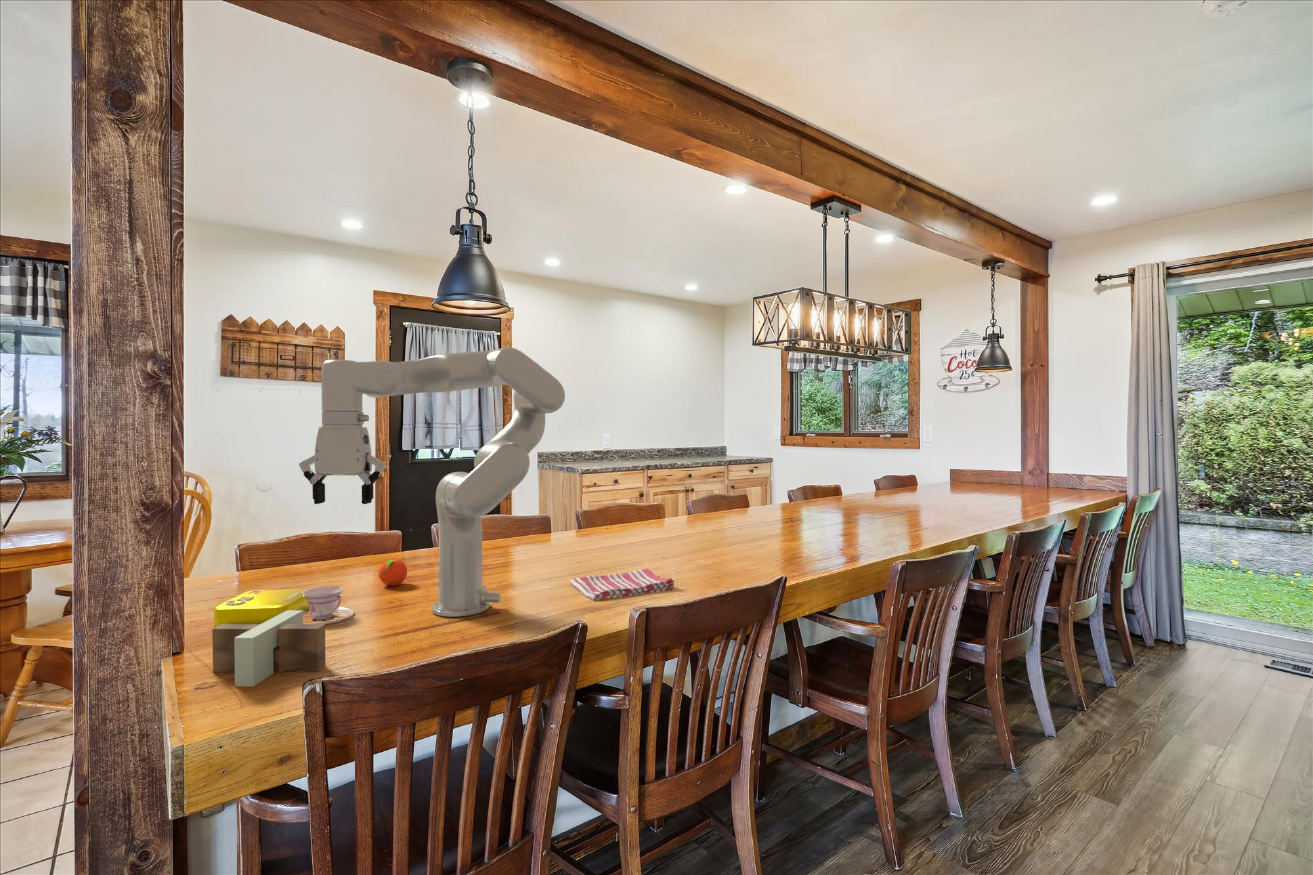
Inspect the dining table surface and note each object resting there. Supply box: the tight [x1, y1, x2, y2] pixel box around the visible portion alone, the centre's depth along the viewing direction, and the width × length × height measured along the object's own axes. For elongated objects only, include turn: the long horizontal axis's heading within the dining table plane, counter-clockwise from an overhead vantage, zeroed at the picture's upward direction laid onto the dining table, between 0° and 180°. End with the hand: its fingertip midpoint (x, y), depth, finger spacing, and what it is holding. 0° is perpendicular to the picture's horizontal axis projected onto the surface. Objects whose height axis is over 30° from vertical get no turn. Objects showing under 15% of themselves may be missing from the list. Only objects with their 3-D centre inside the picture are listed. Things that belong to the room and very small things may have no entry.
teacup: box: [302, 585, 355, 625], centre depth 139 cm, size 12×12×6 cm
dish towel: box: [569, 568, 675, 602], centre depth 165 cm, size 17×23×4 cm
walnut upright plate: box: [211, 624, 326, 673], centre depth 110 cm, size 18×2×8 cm, turn 91°
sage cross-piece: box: [234, 610, 303, 688], centre depth 110 cm, size 3×15×8 cm, turn 1°
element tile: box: [213, 588, 309, 628], centre depth 141 cm, size 15×15×5 cm
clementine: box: [378, 558, 408, 587], centre depth 166 cm, size 8×7×7 cm
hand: (343, 503), depth 131 cm, fingers open, 9 cm apart
